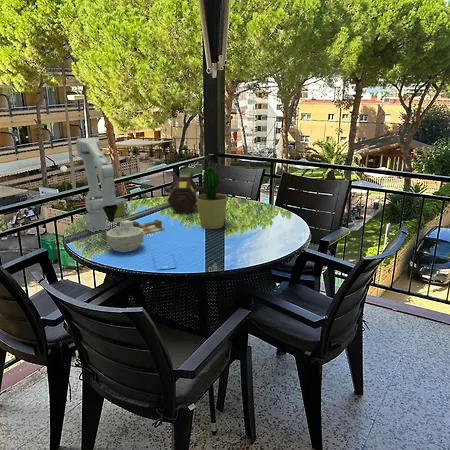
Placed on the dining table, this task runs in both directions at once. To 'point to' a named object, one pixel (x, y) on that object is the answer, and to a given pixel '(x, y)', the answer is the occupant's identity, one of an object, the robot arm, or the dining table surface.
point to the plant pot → (120, 209)
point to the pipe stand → (145, 228)
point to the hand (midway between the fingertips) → (111, 221)
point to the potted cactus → (211, 201)
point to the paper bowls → (125, 238)
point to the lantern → (183, 193)
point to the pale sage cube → (126, 223)
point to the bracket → (136, 224)
